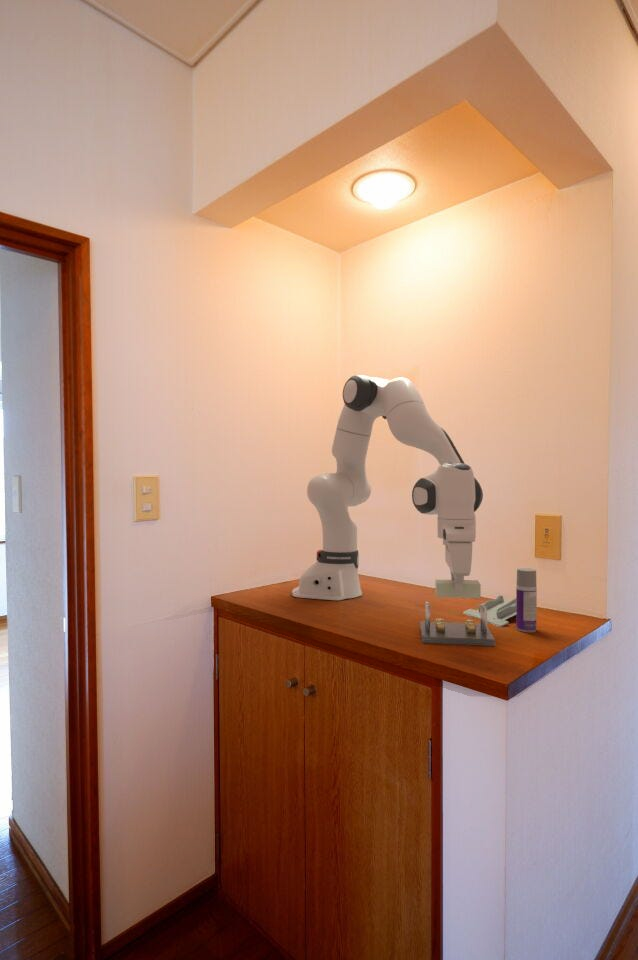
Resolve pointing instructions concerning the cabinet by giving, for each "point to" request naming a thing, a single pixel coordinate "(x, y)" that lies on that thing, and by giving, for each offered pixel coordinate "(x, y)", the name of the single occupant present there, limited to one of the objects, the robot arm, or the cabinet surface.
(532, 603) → the container
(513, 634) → the cabinet surface
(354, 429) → the robot arm
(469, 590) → the board
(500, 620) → the metal bracket
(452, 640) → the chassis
